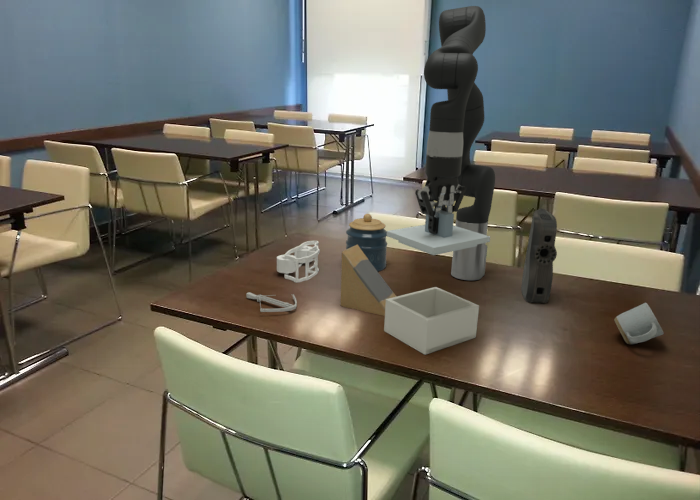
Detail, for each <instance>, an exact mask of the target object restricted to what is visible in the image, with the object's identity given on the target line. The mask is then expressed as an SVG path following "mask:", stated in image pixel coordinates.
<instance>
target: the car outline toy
mask: <svg viewBox="0 0 700 500" xmlns="http://www.w3.org/2000/svg"><path fill="white" fill-rule="evenodd" d="M319 243H320V241H318V240H308V241H304V242H302V243H301V244H300V245H297V246H295V247H293V248H291V249H289V250H287V251H286V252H285V254H281V255H280V254H279V255H278V256H276V271H277V272H278V273H280V274H284V279H286V280H290V281H292V282H294V283H295V284H297V283H302V282H305V281H309V280H310V279H312V278H314V277H315V276H316V275H318V273H319V272H320V268H319V267H318V264H319V259H318V258H319V254H320V253H321V252H320V251H321V249H320V248H319ZM311 245H314V246H311ZM293 254H294V255H293ZM313 261H314V263H313V265H312V266H310V263H311V262H313ZM303 264H304V265H305V268H304V269H305V276H303V277H300V278H299V268H301V267H302V265H303ZM313 269H314V270H313ZM292 273H295V277H294V276H292V275H289V274H292ZM309 274H310V275H309Z"/></svg>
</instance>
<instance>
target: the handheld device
mask: <svg viewBox="0 0 700 500" xmlns="http://www.w3.org/2000/svg"><path fill="white" fill-rule="evenodd" d="M557 227H558V223H557V218H556V216H554V214H553V213H551V212H550V211H548V210H547V209H544V208H539V209H537V210H534V211H533V215H532V220H531V225H530V230H529V236H528V242H527V246H526V247H527V248H526V253H525V260H524V266H523V272H522V279H521V287H520V290H521V294H522V297H523V299H524V300H525V302H527V303H530V304H533V303H534V304H535V303H536V304H548V302H549V299H550V296H551V291H552V284H553V279H554V277H553V275H554V263H553V262H554V261H555V260H556V258H557V256H558V255H557V253H558V252H557V249H556V246H555V244H556V238H557V229H558V228H557Z"/></svg>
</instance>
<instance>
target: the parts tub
mask: <svg viewBox="0 0 700 500" xmlns="http://www.w3.org/2000/svg"><path fill="white" fill-rule="evenodd" d="M396 296H397V295H396ZM479 311H480V305H479V304H476V303H474V302H472V301H470V300H468V299H465V298H462V297H461V296H458V295H456V294H455V293H452V292H449V291H446V290H444V289H442V288H439V287H437V286H434V287H433V286H432V287H430V288H429V287H428V288H426V289H422V290H421V289H420V290H418V291H413V292H410V293H406V294H401V295H398V296H397V297H393V298H389V299H386V306H385V316H384V323H383V324H384V327H383V332H385V333H387V334H388V335H391V336H392V337H394V338H396V340H399V341H400V342H402V343H404V344H406V345H407V346H408V347H409V346H410V347H411V348H412V349H415V350H416V351H418V352H419V353H421V354H423V355H424V356H425V355H426V356H427V355H428V354H431V353H435V352H437V351H441V350H443V349H446V348H450V347H452V346H455V345H458V344H461V343H463V342H467V341H469V340H470V341H471V340H472V339H476V336H477V328H478V321H479V320H478V319H479Z"/></svg>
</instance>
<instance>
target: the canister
mask: <svg viewBox="0 0 700 500" xmlns="http://www.w3.org/2000/svg"><path fill="white" fill-rule="evenodd" d="M348 226H349V228H348V229H347V230H346V231H345V233H346V235H347V238H346V239H347V240H346V241H345V250H346V249H348V248H350V247H353V246H355V245H358V246H359V247H360V249H361V250H362V251H363V253H364V254H365V256H366V257H367V258H368V260H369V261H370V262H371V264H372V265H373V266H374V268H375V269H376V270H377V272H378V273H379V272H381V271H383V270H385V269H386V268H387V246H388V241H387V231H388V230H386V229H385V228H386V224H385V223H383V222H382V221H381V220H380V219H377V218H373V216H372V215H371V214H370V213H365V214H364V215H363V217H362V218H355V219H354V220H353V221H351V222H349V223H348Z"/></svg>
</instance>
